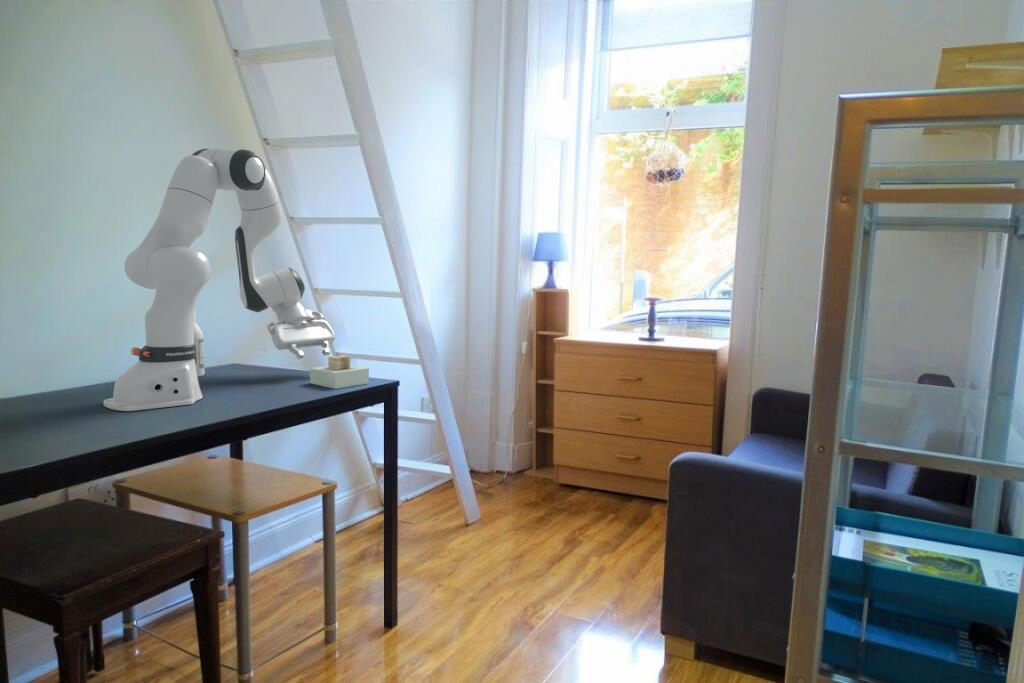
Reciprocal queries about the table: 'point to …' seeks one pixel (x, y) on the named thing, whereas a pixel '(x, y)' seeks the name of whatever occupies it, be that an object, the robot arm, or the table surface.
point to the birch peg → (338, 363)
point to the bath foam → (199, 349)
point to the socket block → (339, 377)
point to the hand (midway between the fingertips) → (314, 355)
